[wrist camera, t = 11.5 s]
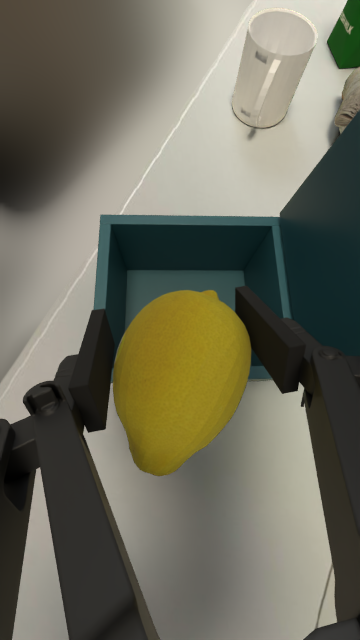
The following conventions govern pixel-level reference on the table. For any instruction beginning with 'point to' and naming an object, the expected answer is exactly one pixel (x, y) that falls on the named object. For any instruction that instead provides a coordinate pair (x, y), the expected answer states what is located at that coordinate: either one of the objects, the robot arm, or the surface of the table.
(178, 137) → the table surface
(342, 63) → the soya milk
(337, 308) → the lid
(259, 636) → the table surface
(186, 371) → the lemon
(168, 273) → the teal box
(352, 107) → the decorative bird
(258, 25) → the mug
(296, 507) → the table surface
